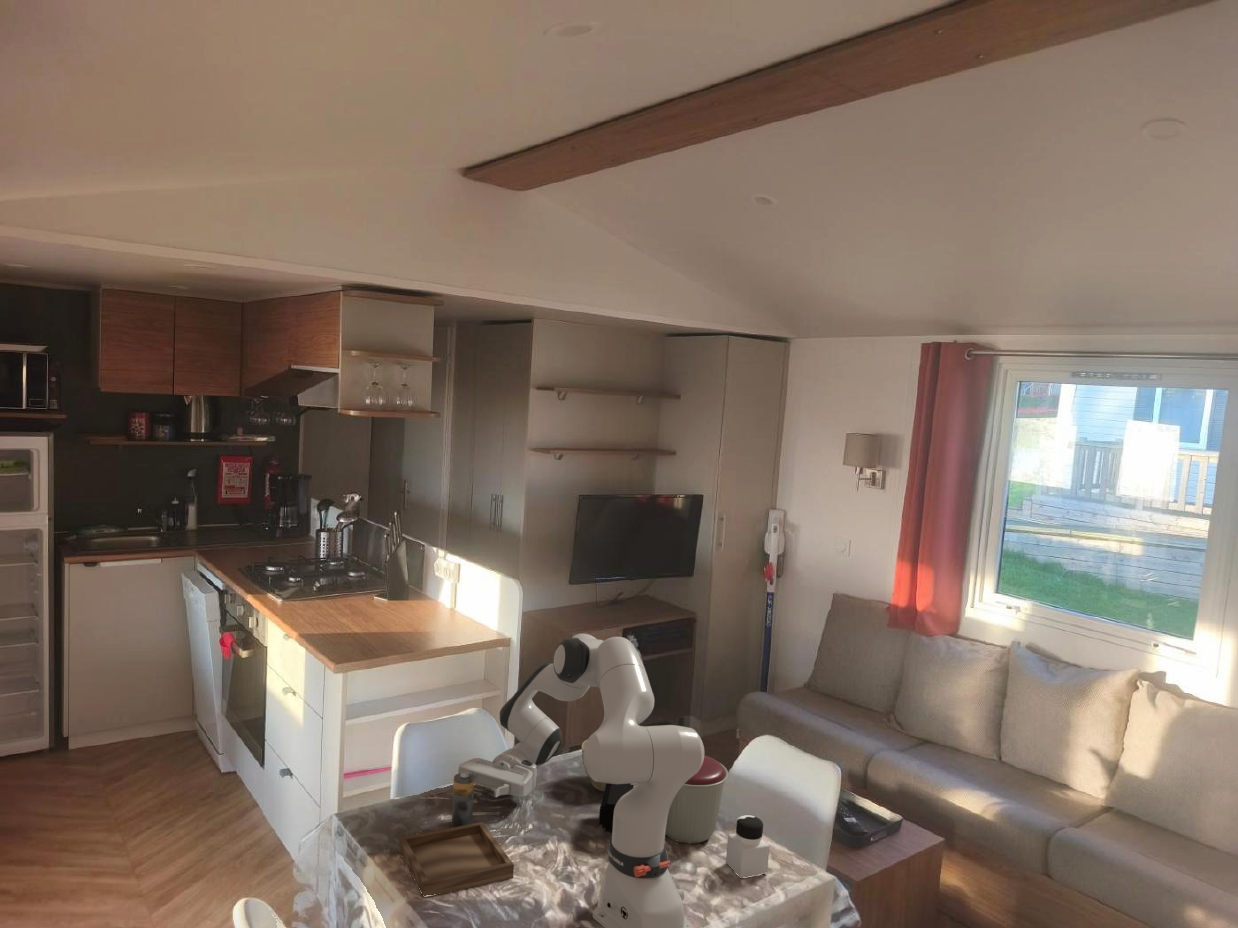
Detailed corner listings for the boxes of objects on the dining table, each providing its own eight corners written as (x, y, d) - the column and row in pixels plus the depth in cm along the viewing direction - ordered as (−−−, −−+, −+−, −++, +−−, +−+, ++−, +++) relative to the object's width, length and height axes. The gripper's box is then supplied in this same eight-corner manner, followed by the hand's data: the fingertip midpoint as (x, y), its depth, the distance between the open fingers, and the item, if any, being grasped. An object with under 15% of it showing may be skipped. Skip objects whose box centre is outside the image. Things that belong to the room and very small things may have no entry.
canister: (727, 854, 204) (734, 769, 202) (651, 849, 204) (658, 764, 202) (718, 817, 222) (724, 738, 221) (648, 812, 222) (654, 734, 220)
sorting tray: (513, 877, 188) (513, 864, 188) (423, 897, 179) (424, 884, 179) (481, 833, 206) (482, 821, 206) (398, 850, 196) (399, 837, 196)
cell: (475, 827, 209) (478, 776, 208) (455, 831, 206) (457, 780, 205) (468, 817, 213) (471, 767, 212) (448, 821, 211) (451, 771, 209)
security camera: (632, 810, 222) (634, 773, 222) (625, 847, 204) (628, 807, 203) (605, 807, 223) (608, 770, 222) (597, 844, 205) (599, 804, 204)
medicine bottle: (767, 875, 197) (771, 824, 196) (740, 879, 194) (744, 828, 193) (751, 858, 203) (755, 810, 202) (725, 862, 201) (729, 813, 200)
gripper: (476, 747, 231) (444, 766, 219) (541, 766, 222) (512, 786, 210) (475, 770, 231) (443, 790, 219) (540, 790, 223) (510, 811, 210)
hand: (477, 788), depth 214 cm, fingers open, 8 cm apart
